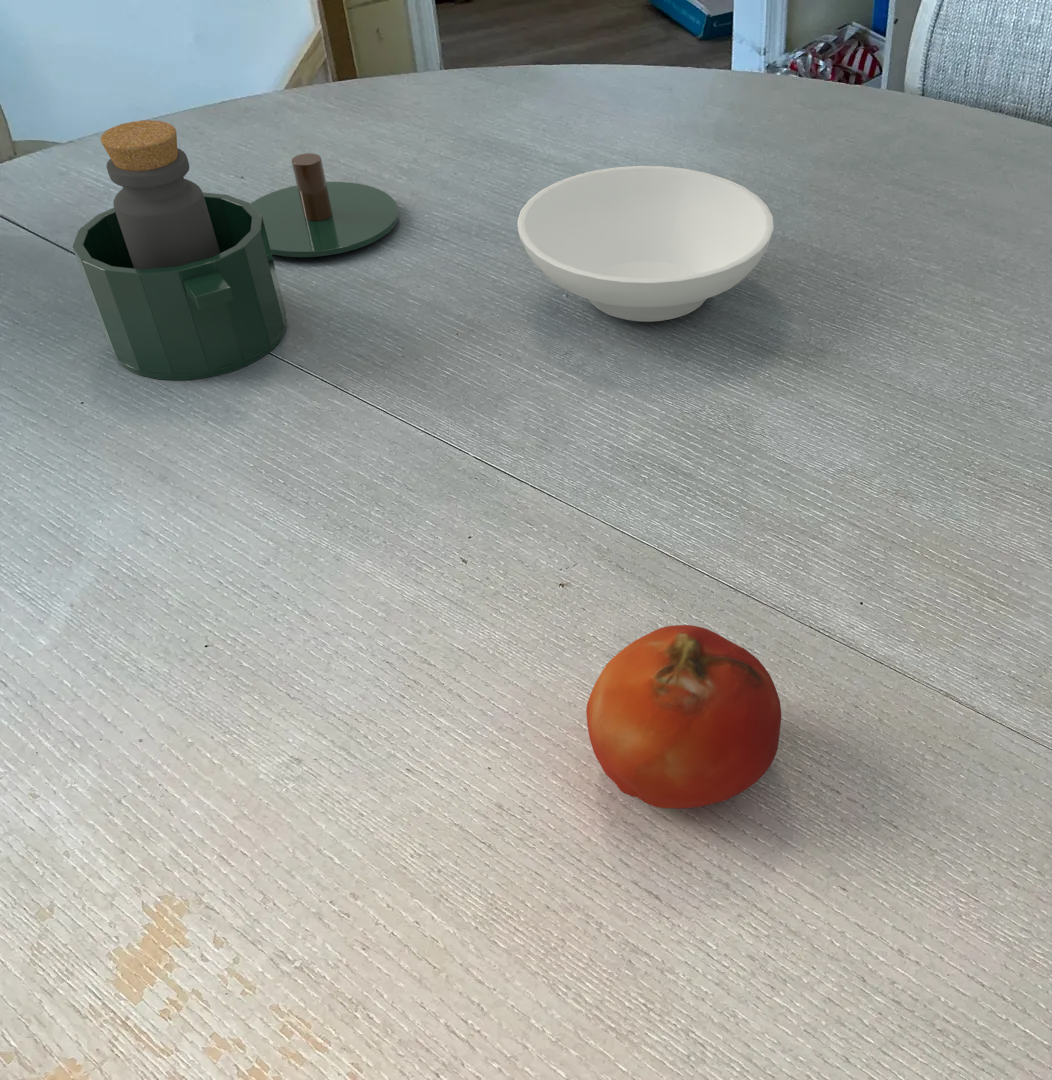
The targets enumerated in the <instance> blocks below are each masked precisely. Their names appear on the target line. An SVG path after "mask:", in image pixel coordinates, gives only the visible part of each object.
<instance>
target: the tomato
mask: <svg viewBox="0 0 1052 1080" xmlns="http://www.w3.org/2000/svg"><path fill="white" fill-rule="evenodd" d="M781 706H782V705H781V700H780V697H779V694H778V690H777V689H776V686H775V683H774V681H773V679H772V676H771V674H770V673H769V671H768V670H767V668H766V667H765V666H764V664H762V663H761V661H760V660H759V659H758V658H757V657H756V656H755V655H754V654H752V653H751V652H749V650H747V649H746V648H744V647H742V646H740V645H738V644H736V643H735V642H733V641H730V640H729V639H727V638H725V637H723V636H722V635H720V634H718V633H717V632H715V631H712V630H710V629H708V628H705V627H701V626H697V625H692V624H691V625H690V624H676V625H668V626H663V627H660V628H657V629H656V630H653V631H651V632H649V633H647V634H645V635H643V636H641V637H639V638H637V639H635V640H634V641H632V642H631V643H629V644H628V645H627V646H625V647H624V648H623V649H621V650H620V651H619V652H618V653H617V654H616V655H614V656H613V657H612V658H611V659H610V660H609V661H608V662H607V663H606V664H605V666H604V668H603V669H602V671H601V672H600V674H599V676H598V677H597V679H596V681H595V683H594V686H593V688H592V690H591V692H590V693H589V697H588V699H587V703H586V710H585V711H586V712H585V713H586V714H585V715H586V725H587V732H588V738H589V741H590V745H591V747H592V751H593V754H594V756H595V758H596V760H597V762H598V764H599V765H600V766H601V769H602V771H603V772H604V773H605V775H606V776H607V778H609V779H610V781H612V782H614V784H615V785H616V786H617V788H618V789H619V791H620V792H622V793H623V794H625V795H627V796H630V797H632V798H638V799H639V800H641V802H643V803H645V804H647V805H649V806H651V807H654V808H659V809H679V810H681V809H691V808H693V809H694V808H699V807H704V806H709V805H712V804H717V803H721V802H724V801H728V800H729V799H731V798H733V797H735V796H737V795H739V794H740V793H743V792H744V791H745V790H748V789H749V788H750V787H751V786H753V785H755V784H756V783H757V782H758V781H759V780H760V778H762V777H763V776H764V775H765V774H766V773H767V771H768V770H769V768H770V767H771V766H772V764H773V762H774V760H775V758H776V755H777V752H778V750H779V742H780V741H779V740H780V735H781V725H782V707H781Z"/></svg>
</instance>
